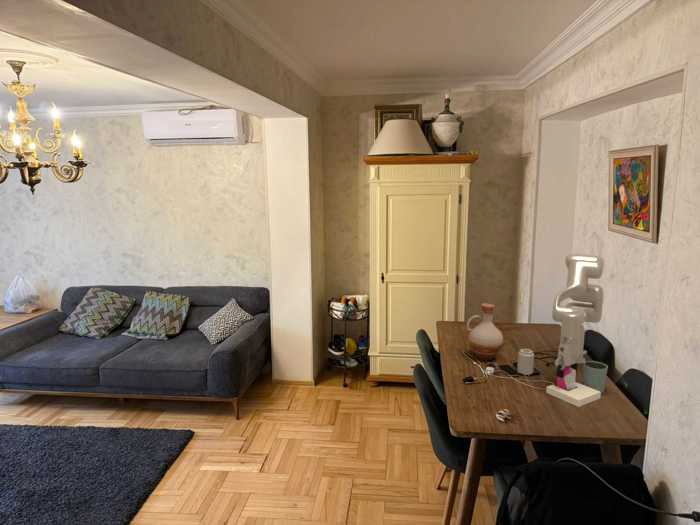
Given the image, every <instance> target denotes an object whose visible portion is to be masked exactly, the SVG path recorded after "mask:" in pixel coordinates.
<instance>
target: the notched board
mask: <svg viewBox="0 0 700 525" xmlns="http://www.w3.org/2000/svg"><path fill="white" fill-rule="evenodd" d="M545 391H546V394H548V395H550V396H552V397H554V398H558V399H560V400H561V401H564V402H566V403H568V404H570V405H572V406H575V407H577V408H579V407H582V406H584V405H587V404H590V403H592V402H595V401H598V400H600V399H601V397H602V396H601V395H602V393H601V392H600V391H597V390H595V389H592V388H590V387H587V386H585V385H584V384H582V383H579V382H577V381H575V389H573V390H570V391H566V390H564V389H561V388H559V387H557V385H554V384H551V385H548V386H546V390H545Z"/></svg>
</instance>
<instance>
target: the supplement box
mask: <svg viewBox="0 0 700 525" xmlns="http://www.w3.org/2000/svg"><path fill="white" fill-rule="evenodd" d="M563 370H564V376H563V378H560V377H558V376H556V386H557V387H559V388H561V389H564V390H566V391H570V390H573V389H575V382H576V375H577V373H576V370H574V369H573V368H571V367H570V365H569V366H566V365H565V367H564V368H563Z"/></svg>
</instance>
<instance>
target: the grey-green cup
mask: <svg viewBox="0 0 700 525" xmlns="http://www.w3.org/2000/svg"><path fill="white" fill-rule="evenodd" d="M582 364H583V365H582V366H583V385H585V386H587V387H590V388H592V389H595V390H597V391H600V392H601V394H603V393H604V392H605V387H606V379H607V374H608V369H609V366H608V365H607V364H605V363H603V362H601V361H595V360H587V361H586V360H585V362H584V363H582Z"/></svg>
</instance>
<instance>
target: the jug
mask: <svg viewBox="0 0 700 525" xmlns="http://www.w3.org/2000/svg"><path fill="white" fill-rule="evenodd" d="M494 308H495V305H494V304H492V303H489V302H488V303H487V302H484V303H481V309H480V311H481V314H482V315H480V314H475V315H473V316H471V317H470V318H469V319H467V322H466V325H465V326H466V329H467V331H468V332H469V336H468V340H469V346H470V348H471V351H472V352H473V354H474V355H475V356H476V357H477V358H478V359H479V360H481V361H491V360H493V359H494V358H495V357H497V355H499V353H500V351H501V349H502V347H503V344H504V336H503V334H502V331H501V330H499V328H498V327H496V326H495V324H494V323H493V321H492V317H493V314H494ZM476 318H479V319H480V320H481V321H480V323H479V324H478V325H476V326H475V327H474V328H470V323H471V322H472V321H473V320H474V319H476Z"/></svg>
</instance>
